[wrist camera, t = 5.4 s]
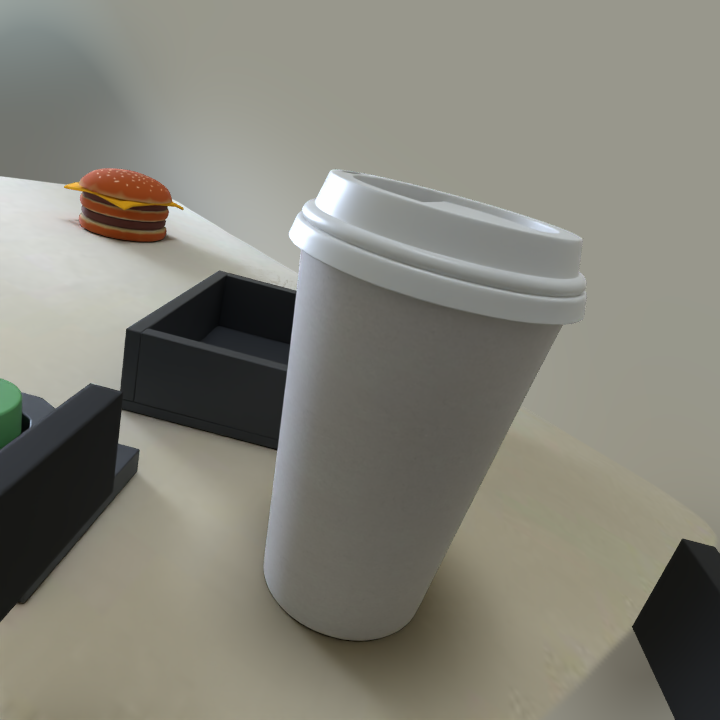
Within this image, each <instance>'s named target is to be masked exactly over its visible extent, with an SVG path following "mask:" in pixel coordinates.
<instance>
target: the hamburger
mask: <svg viewBox="0 0 720 720" xmlns="http://www.w3.org/2000/svg"><path fill="white" fill-rule="evenodd" d="M64 188H67V189H72V190H78V191H83V193H81V195H80V201H81V204H82V213H80V215H79V222H80V224H81V226H82V227H83V228H85V229H87V230H89V231H91V232H93V233H96V234H100V235H103V236H106V237H111V238H116V239H121V240H129V241H138V242H152V241H157V240H162V239H163V238H164V237H165V235H166V228H165V227H164V226H165V223H166V221H165V219H166V218H167V217H168V213H169V211H168V208H167V206H173V207H177V208H179V209H181V210H184V209H183V207H181V206H179V205H177V204H176V203H174V202H172V198H171V195H170V192H169V191H168V189H167V188H165V186H164V185H162V184H161V183H160V182H158V181H156V180H154V179H152V178H150V177H148V176H146V175H144V174H141V173H138V172H134V171H130V170H124V169H112V168H108V169H107V168H106V169H99V170H95V171H92V172H90V173H88V174H87V175H85V176H84V177H83V178H81V180H80V182H74V183H71V184H68V185H65V186H64Z"/></svg>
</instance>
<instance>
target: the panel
mask: <svg viewBox="0 0 720 720" xmlns="http://www.w3.org/2000/svg"><path fill="white" fill-rule="evenodd" d="M21 394H22V424H21V434H22V433H23V432H25V431H26V430H27V429H29V428H30V427H32V426H33V425H34V424H36V423H37V422H38V421H40V420H41V419H42V418H44V417H45V416H47V415H48V414H49V413H51V412H52V411H53V410H55V408H54V407H53V406H51V405H50V404H49V403H48V402H46V401H45V400H44V399H43V398H40V397H37V396H33V395H29V394H26V393H22V392H21ZM139 451H140V450H139V449H136V448H132V447H129V446H125V445H121V444H118V449H117V459H116V468H115V478H114V488H113V493H112V494H111V495H110V496H109V497H108V498H107V499H106V501H105V502H104V503H103V504H102V505H101V506H100V508H99V509H98V510H97V511H96V512H95V513H94V514H93V516H92V517H91V518H90V519H89V520H88V521H87V523H86V524H85V525H84V526H83V527H82V528H81V529H80V531H79V532H78V533H77V534H76V535H75V536H74V538H73V539H72V540H71V541H70V542H69V543H68V544H67V546H66V547H65V548H64V549H63V550H62V551H61V553H60V554H59V555H58V556H57V557H56V558H55V560H54V561H53V562H52V563H51V564H50V565H49V566H48V568H47V569H46V570H45V571H44V572H43V573H42V575H41V576H40V577H39V578H38V579H37V580H36V581H35V583H34V584H33V585H32V586H31V587H30V588H29V590H28V591H27V592H26V593H25V594H24V595H23V596H22V598H21V599H20V600H19V601H18V602H22V603H24V602H25V601H26V600H27V599H28V598H29V597H30V596H31V594H32V593H33V592H34V591H35V590H36V589H37V587H38V586H39V585H40V584H41V583H42V581H43V580H44V579H45V578H46V577H47V576H48V574H49V573H50V572H51V571H52V570H53V569H54V567H55V566H56V565H57V564H58V563H59V562H60V560H61V559H62V558H63V557H64V556H65V555H66V553H67V552H68V551H69V550H70V549H71V548H72V546H73V545H74V544H75V543H76V542H77V541H78V539H79V538H80V537H81V536H82V535H83V534H84V532H85V531H86V530H87V529H88V528H89V527H90V525H91V524H92V523H93V522H94V521H95V520H96V518H97V517H98V516H99V515H100V514H101V513H102V511H103V510H104V509H105V508H106V507H107V506H108V504H109V503H110V502H111V501H112V500H113V499H114V497H115V496H116V495H117V494H118V493H119V492H120V490H121V489H122V488H123V487H124V486H125V485H126V483H127V482H128V481H129V480H130V479H131V477H132V476H133V475H134V474H135V473H136V472H137V468H138V459H139Z"/></svg>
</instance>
